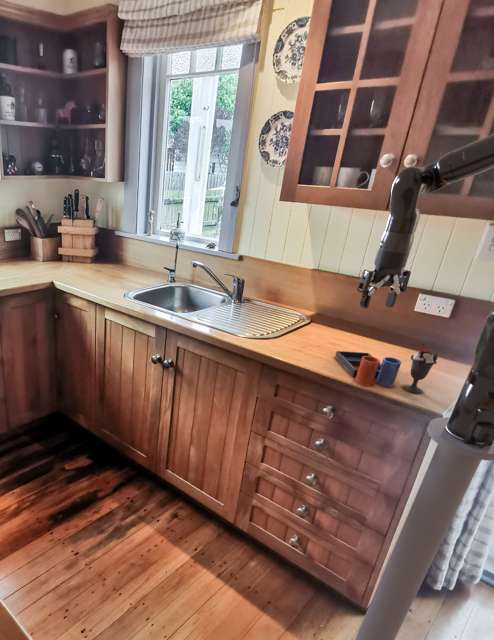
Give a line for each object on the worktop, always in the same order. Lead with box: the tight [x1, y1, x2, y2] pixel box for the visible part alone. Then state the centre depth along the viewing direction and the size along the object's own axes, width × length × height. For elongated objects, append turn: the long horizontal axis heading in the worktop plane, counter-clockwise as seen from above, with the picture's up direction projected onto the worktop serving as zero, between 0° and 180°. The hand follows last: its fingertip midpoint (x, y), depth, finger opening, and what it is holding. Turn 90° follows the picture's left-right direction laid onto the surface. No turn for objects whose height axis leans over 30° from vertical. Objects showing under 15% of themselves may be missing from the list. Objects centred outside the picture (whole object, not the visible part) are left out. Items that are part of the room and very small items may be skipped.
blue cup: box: [375, 356, 402, 388], centre depth 142 cm, size 5×5×8 cm
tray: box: [334, 350, 382, 379], centre depth 153 cm, size 15×11×3 cm
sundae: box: [403, 343, 438, 394], centre depth 138 cm, size 7×7×15 cm
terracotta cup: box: [354, 355, 381, 387], centre depth 142 cm, size 5×5×8 cm
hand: (376, 307), depth 131 cm, fingers open, 8 cm apart
